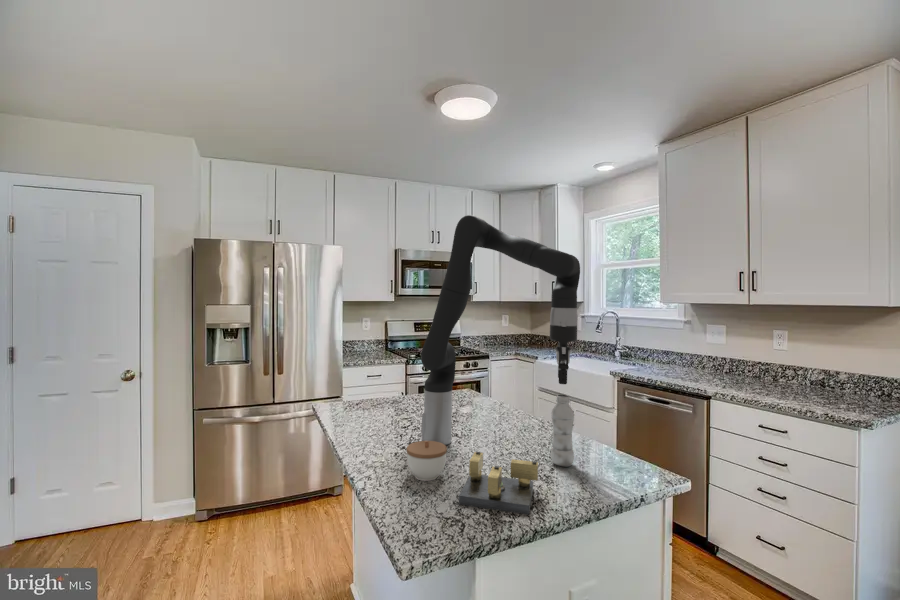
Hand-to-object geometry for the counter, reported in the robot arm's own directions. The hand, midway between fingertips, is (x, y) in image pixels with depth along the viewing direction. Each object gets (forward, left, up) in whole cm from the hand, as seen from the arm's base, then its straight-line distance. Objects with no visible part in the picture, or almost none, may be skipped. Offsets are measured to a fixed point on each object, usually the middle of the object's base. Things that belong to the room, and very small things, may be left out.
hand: (562, 381), depth 119 cm
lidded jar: (-35, -16, -25) cm, 46 cm away
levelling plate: (-15, -22, -25) cm, 36 cm away
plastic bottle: (0, +3, -25) cm, 25 cm away
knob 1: (-21, -19, -23) cm, 36 cm away
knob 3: (-9, -19, -23) cm, 31 cm away
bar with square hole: (-15, -27, -23) cm, 38 cm away
